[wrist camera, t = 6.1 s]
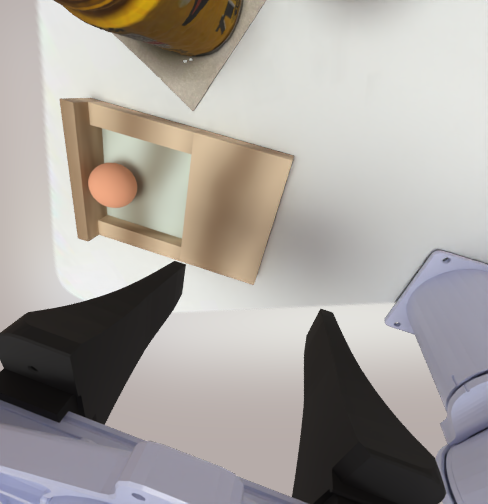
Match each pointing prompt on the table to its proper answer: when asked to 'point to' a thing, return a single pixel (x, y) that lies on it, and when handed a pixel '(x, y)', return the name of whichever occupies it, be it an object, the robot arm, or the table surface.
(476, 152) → the table surface
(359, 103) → the table surface
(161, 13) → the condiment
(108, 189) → the ball
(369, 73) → the table surface
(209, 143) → the board
